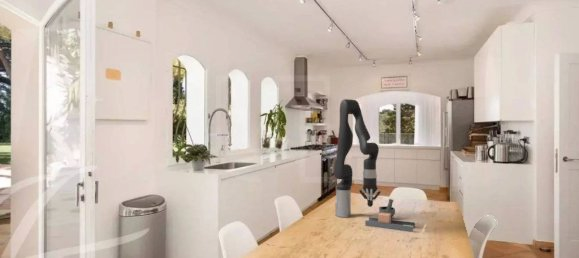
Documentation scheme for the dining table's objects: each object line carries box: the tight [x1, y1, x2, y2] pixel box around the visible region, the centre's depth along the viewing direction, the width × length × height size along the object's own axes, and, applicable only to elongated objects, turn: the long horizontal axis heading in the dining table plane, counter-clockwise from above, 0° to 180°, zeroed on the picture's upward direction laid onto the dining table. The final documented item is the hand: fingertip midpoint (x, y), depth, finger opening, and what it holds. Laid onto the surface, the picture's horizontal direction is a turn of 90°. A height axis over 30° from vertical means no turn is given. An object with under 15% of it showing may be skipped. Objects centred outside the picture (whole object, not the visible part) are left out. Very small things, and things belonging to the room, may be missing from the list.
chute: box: [364, 216, 416, 233], centre depth 196 cm, size 26×9×4 cm, turn 63°
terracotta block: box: [377, 212, 392, 223], centre depth 197 cm, size 6×6×7 cm
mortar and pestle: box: [378, 198, 396, 220], centre depth 215 cm, size 11×9×12 cm
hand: (370, 206), depth 201 cm, fingers closed
